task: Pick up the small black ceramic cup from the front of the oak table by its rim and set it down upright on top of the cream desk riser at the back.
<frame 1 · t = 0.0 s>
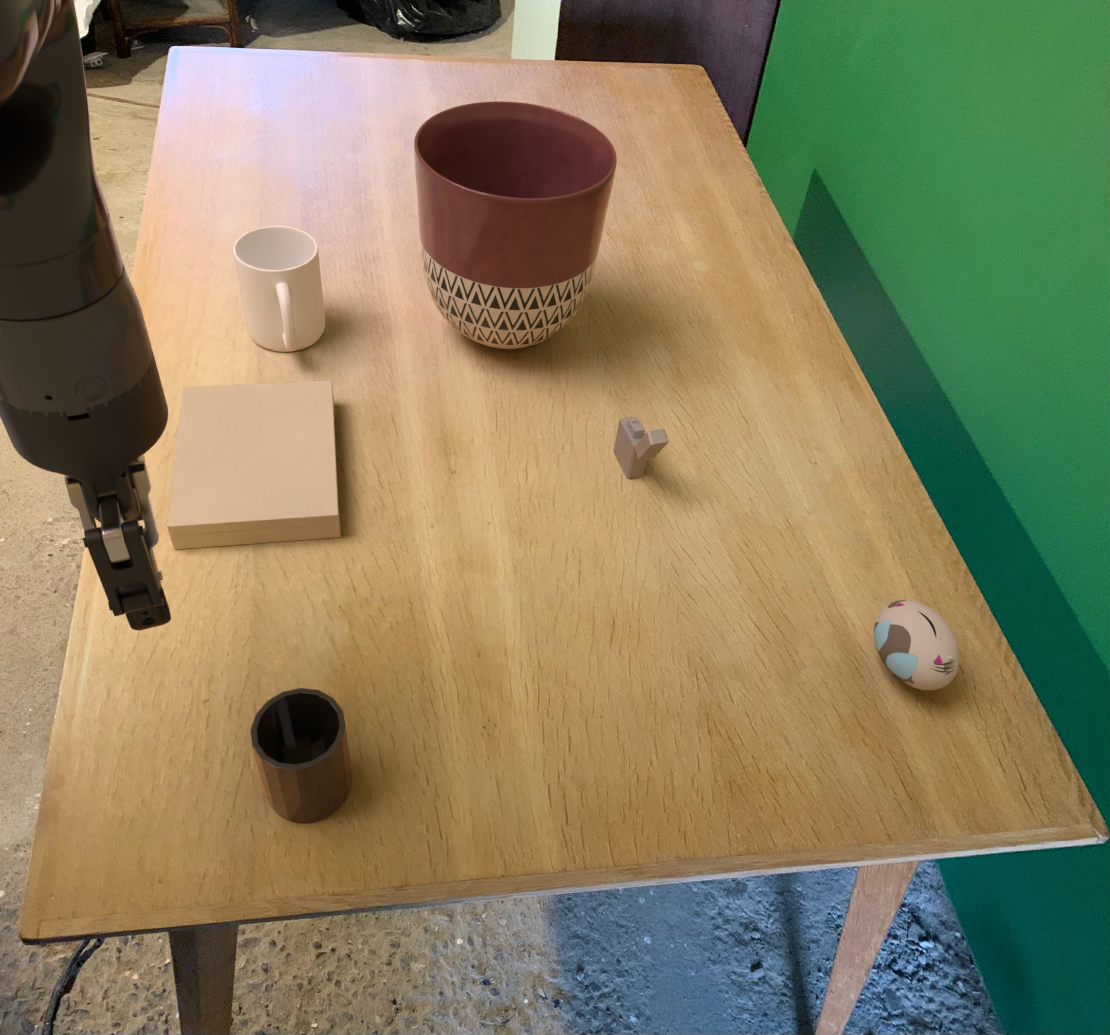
hand: (142, 568, 57), 18 cm above the table, tool pointing down, fingers open, 8 cm apart
grey blocky piece: (632, 475, 93), on the table
figurine: (898, 670, 80), on the table
cup: (289, 341, 102), on the table
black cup: (309, 783, 68), on the table
planter: (503, 330, 107), on the table
riser: (260, 470, 88), on the table
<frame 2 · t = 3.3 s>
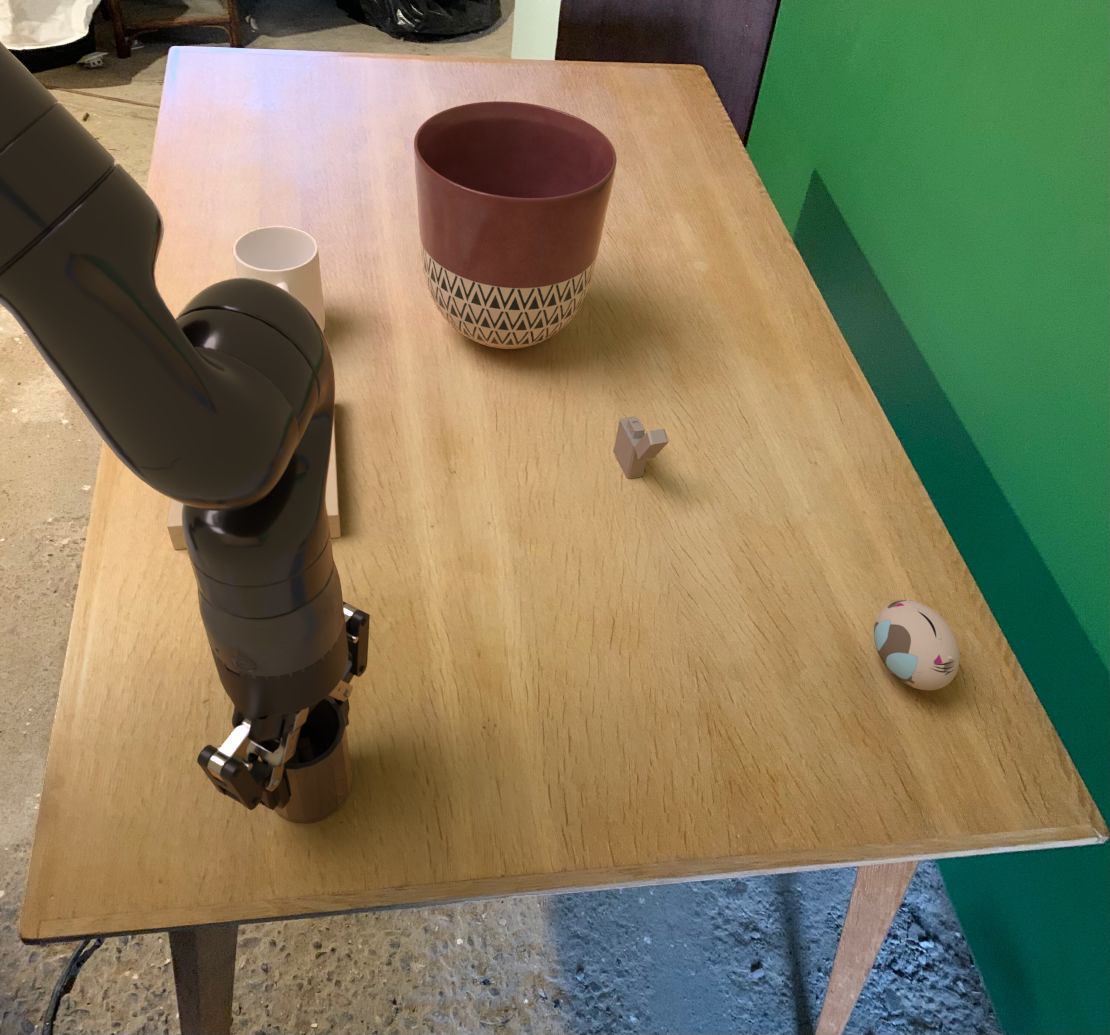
hand: (304, 759, 66), 4 cm above the table, tool pointing down, fingers closed on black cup, 6 cm apart
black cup: (309, 783, 68), on the table, touching gripper
everything else where it was.
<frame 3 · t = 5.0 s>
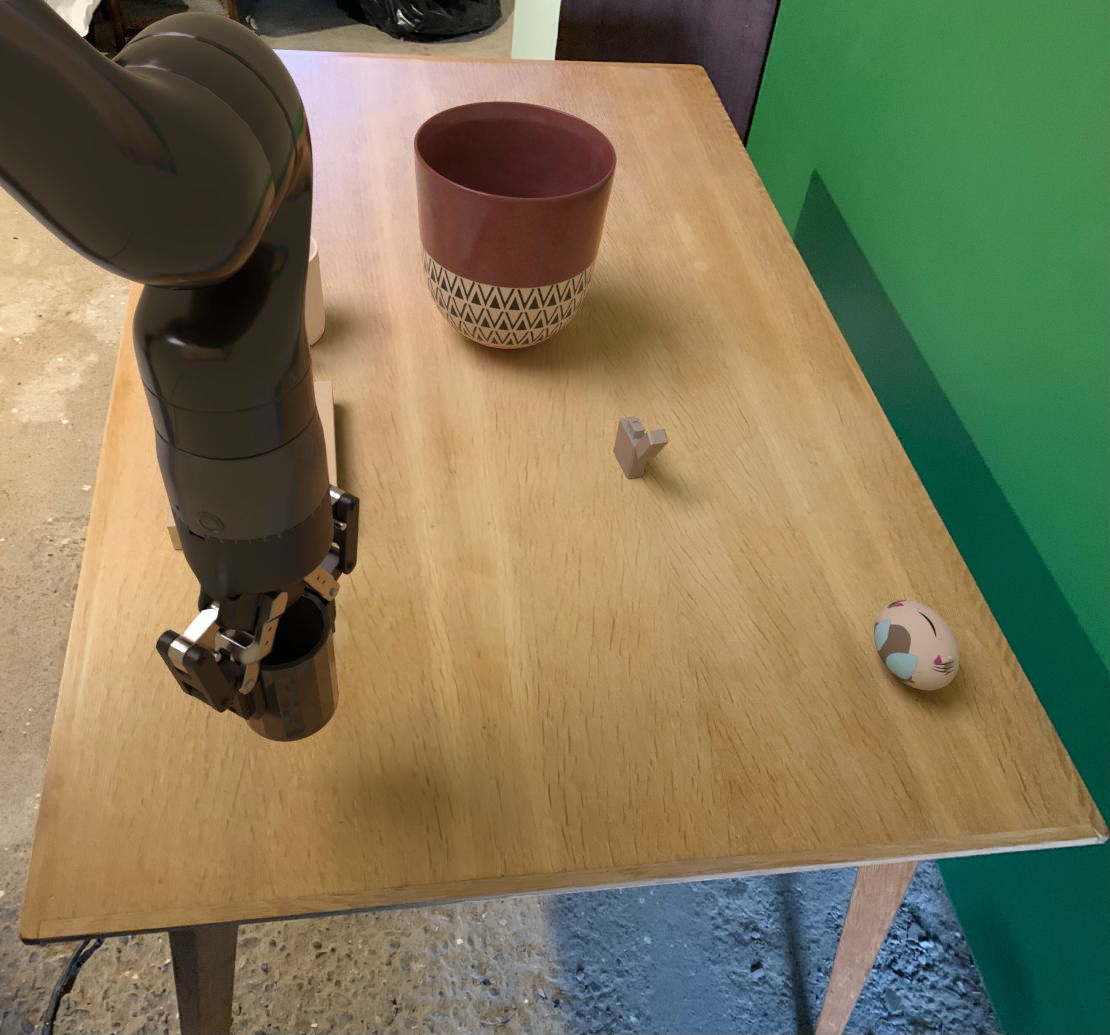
hand: (284, 668, 58), 14 cm above the table, tool pointing down, fingers closed on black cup, 6 cm apart
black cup: (290, 700, 61), point 11 cm above the table, touching gripper
everything else where it was.
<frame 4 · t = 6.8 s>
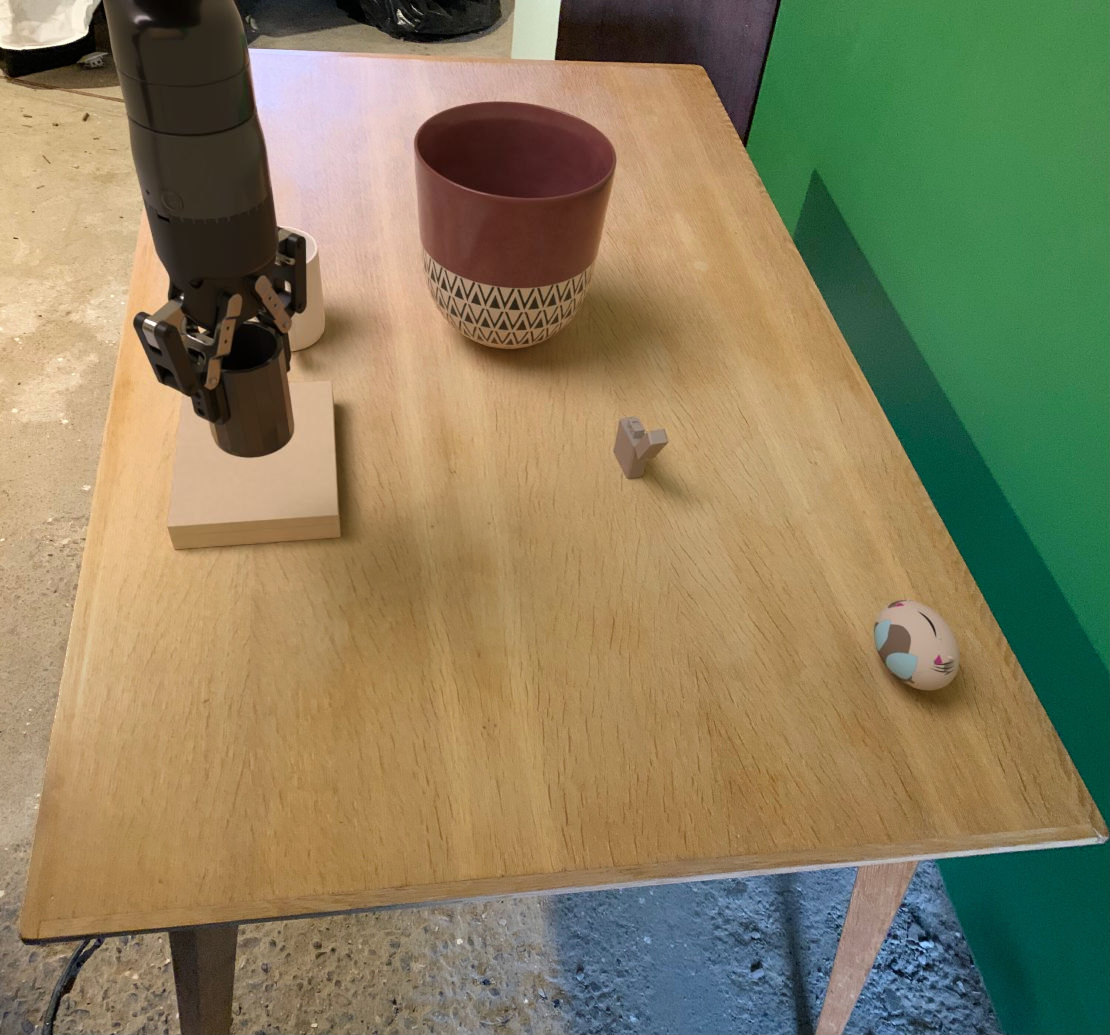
hand: (246, 393, 69), 18 cm above the table, tool pointing down, fingers closed on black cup, 6 cm apart
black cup: (253, 430, 72), point 14 cm above the table, touching gripper
everything else where it was.
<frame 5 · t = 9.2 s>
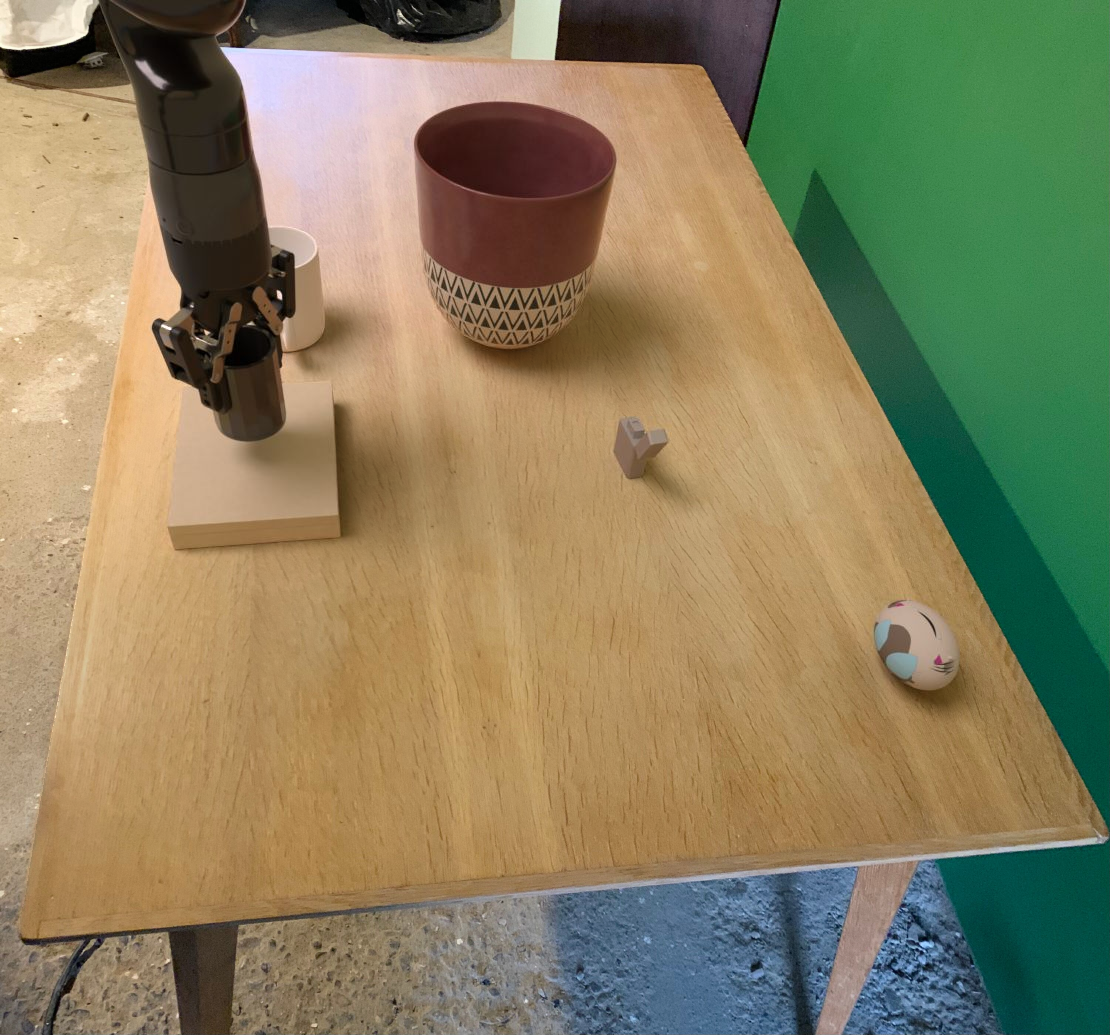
hand: (244, 386, 81), 10 cm above the table, tool pointing down, fingers closed on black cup, 6 cm apart
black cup: (251, 418, 84), point 6 cm above the table, touching gripper
everything else where it was.
when the fingers open (7 cm above the table, at t = 10.7 s): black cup stays where it is, resting on riser.
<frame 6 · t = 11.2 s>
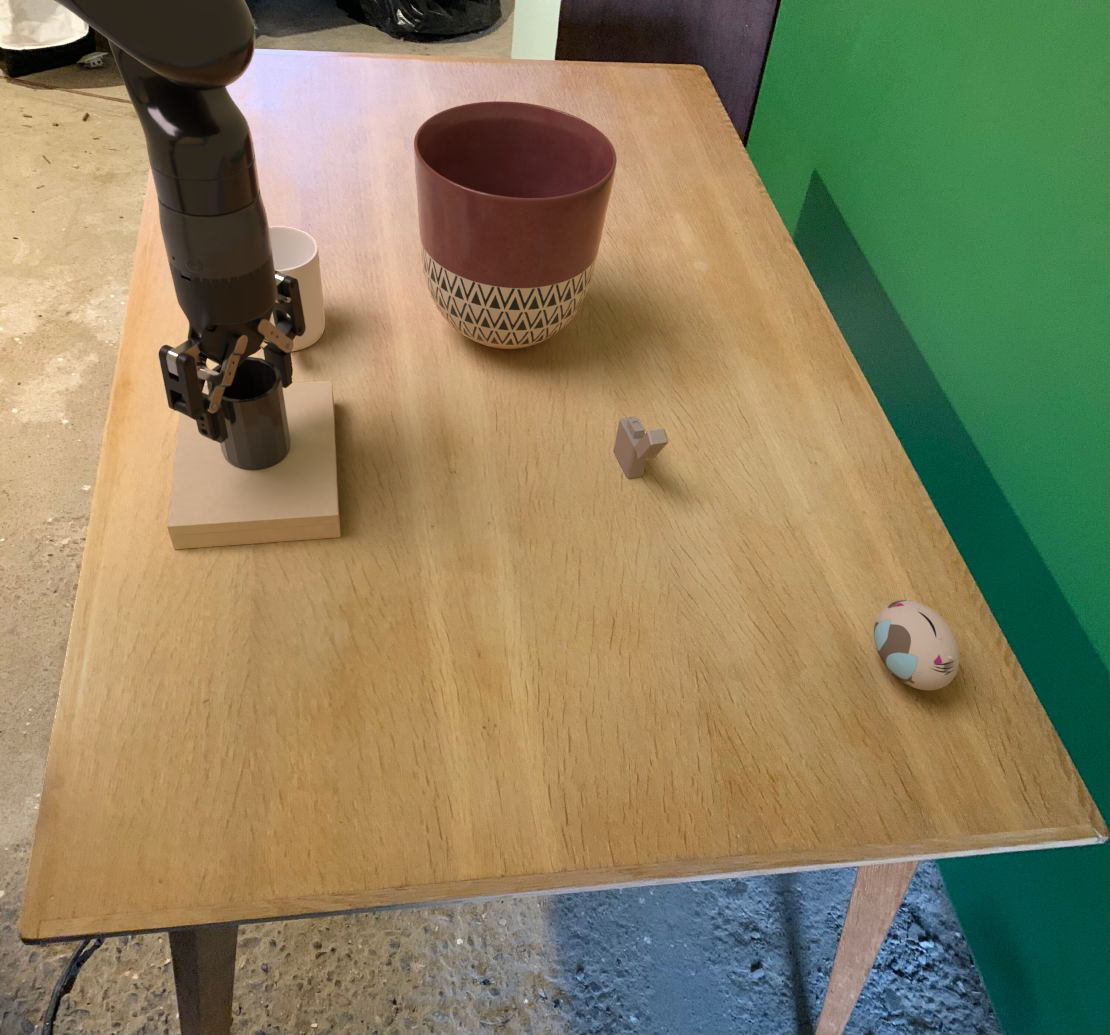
hand: (249, 409, 83), 8 cm above the table, tool pointing down, fingers open, 8 cm apart
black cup: (256, 447, 86), point 3 cm above the table, touching riser
everything else where it was.
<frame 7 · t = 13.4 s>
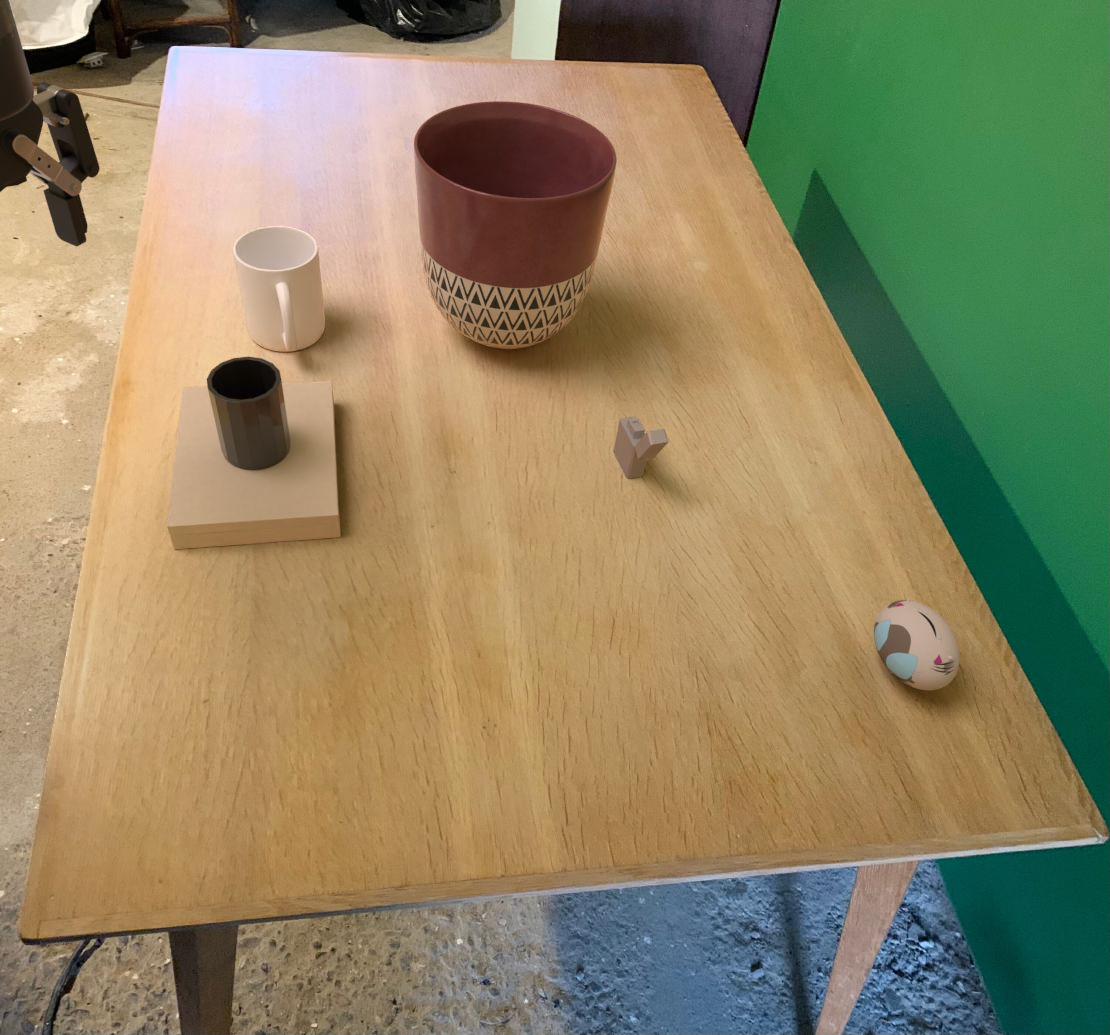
hand: (23, 267, 66), 25 cm above the table, tool pointing down, fingers open, 8 cm apart
nothing on the table moved.
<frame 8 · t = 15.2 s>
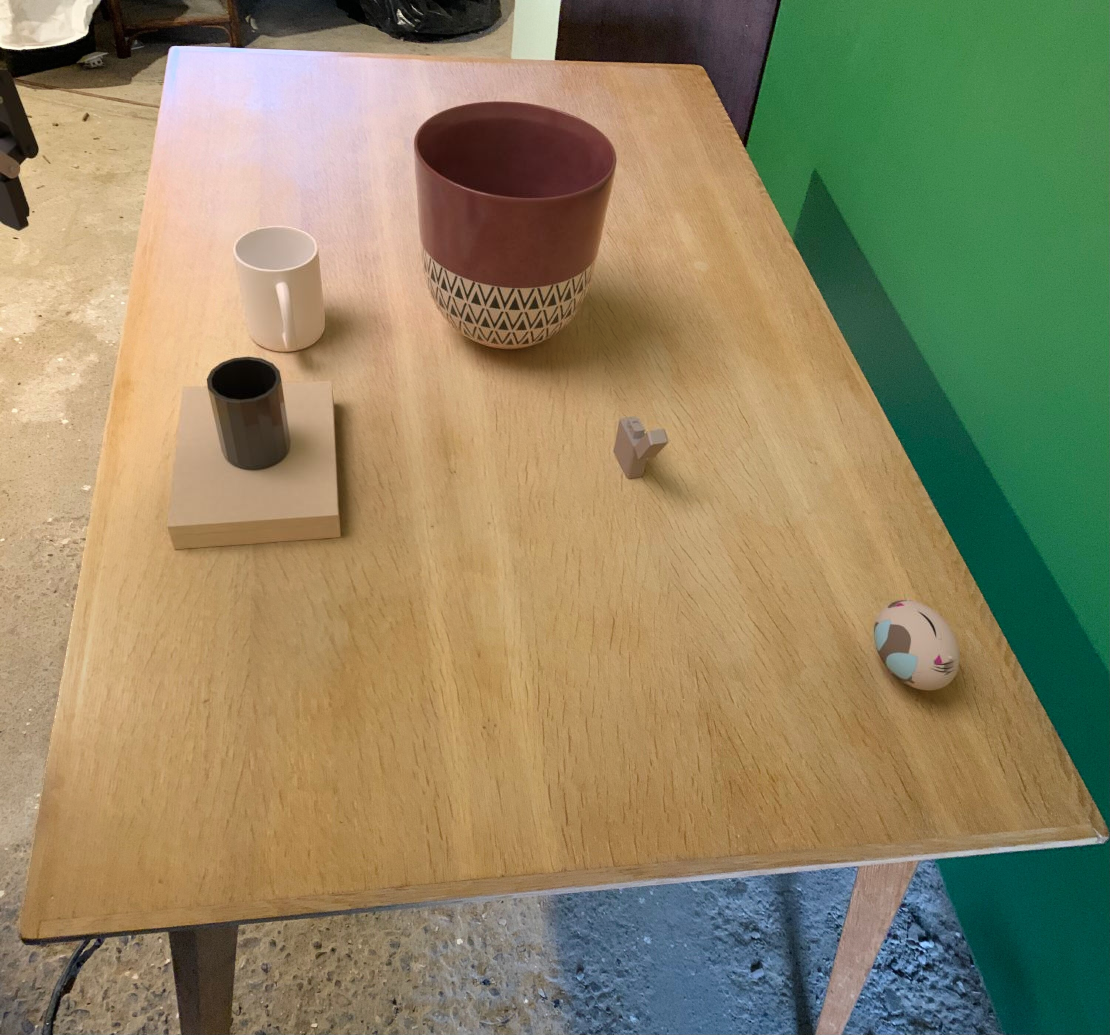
nothing on the table moved.
at the end: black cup inside the target area on the riser (0.0 cm from its centre), point 3.0 cm above the riser's base; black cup tilted 0° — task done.
